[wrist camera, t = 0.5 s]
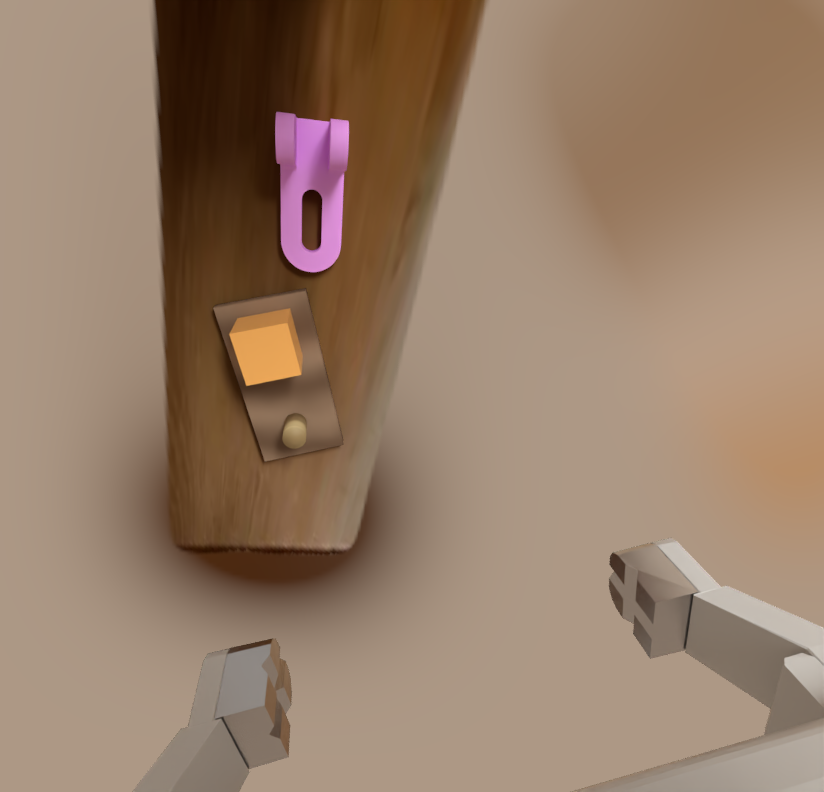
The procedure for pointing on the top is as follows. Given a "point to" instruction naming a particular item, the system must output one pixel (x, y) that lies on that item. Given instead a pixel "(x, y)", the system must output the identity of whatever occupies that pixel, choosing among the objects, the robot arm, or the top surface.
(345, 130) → the bracket
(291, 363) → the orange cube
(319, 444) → the peg board
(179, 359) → the top surface
